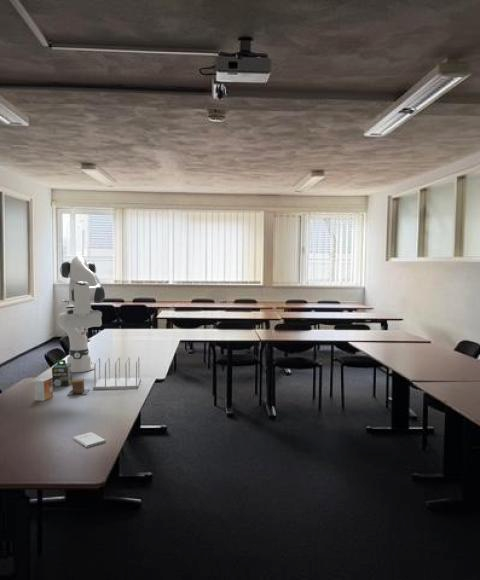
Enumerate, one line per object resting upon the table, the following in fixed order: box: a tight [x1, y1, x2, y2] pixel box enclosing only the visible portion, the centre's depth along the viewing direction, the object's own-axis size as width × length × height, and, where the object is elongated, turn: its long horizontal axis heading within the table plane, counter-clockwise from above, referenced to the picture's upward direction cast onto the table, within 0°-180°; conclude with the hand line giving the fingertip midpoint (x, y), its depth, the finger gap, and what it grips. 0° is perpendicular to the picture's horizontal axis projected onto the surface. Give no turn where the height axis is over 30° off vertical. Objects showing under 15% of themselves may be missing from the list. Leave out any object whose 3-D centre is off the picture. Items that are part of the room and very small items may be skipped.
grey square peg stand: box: [66, 388, 91, 397], centre depth 259 cm, size 10×10×7 cm
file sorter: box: [92, 356, 142, 391], centre depth 275 cm, size 25×17×16 cm
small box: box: [34, 376, 54, 402], centre depth 249 cm, size 8×6×10 cm
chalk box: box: [51, 359, 73, 388], centre depth 276 cm, size 9×9×15 cm
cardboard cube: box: [71, 378, 85, 393], centre depth 259 cm, size 5×5×7 cm
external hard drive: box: [72, 431, 107, 448], centre depth 193 cm, size 2×8×12 cm
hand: (83, 334), depth 264 cm, fingers closed
